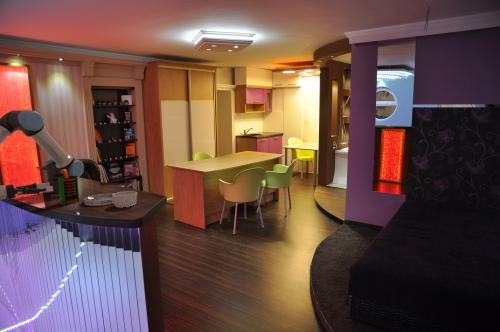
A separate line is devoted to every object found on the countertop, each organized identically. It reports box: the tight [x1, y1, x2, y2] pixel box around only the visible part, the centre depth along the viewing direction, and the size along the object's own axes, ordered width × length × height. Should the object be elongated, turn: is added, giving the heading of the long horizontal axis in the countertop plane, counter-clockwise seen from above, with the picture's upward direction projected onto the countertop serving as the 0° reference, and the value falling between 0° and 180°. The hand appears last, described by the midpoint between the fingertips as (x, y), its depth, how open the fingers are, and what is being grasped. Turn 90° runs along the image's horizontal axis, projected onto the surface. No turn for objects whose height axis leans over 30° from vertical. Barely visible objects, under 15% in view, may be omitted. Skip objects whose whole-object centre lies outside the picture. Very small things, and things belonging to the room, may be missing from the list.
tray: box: [82, 193, 114, 207], centre depth 203 cm, size 20×20×3 cm
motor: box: [58, 169, 80, 206], centre depth 201 cm, size 10×9×20 cm
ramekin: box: [112, 190, 138, 209], centre depth 193 cm, size 13×13×7 cm
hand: (51, 186), depth 195 cm, fingers open, 13 cm apart
